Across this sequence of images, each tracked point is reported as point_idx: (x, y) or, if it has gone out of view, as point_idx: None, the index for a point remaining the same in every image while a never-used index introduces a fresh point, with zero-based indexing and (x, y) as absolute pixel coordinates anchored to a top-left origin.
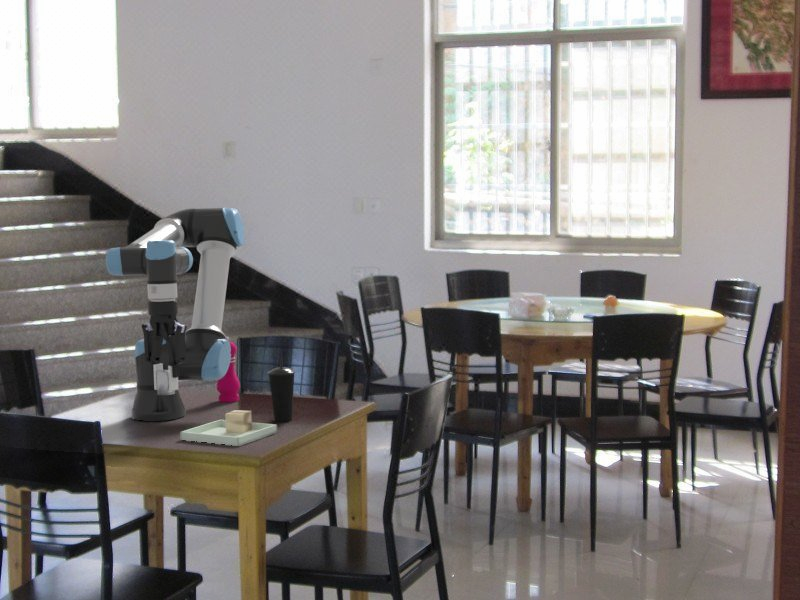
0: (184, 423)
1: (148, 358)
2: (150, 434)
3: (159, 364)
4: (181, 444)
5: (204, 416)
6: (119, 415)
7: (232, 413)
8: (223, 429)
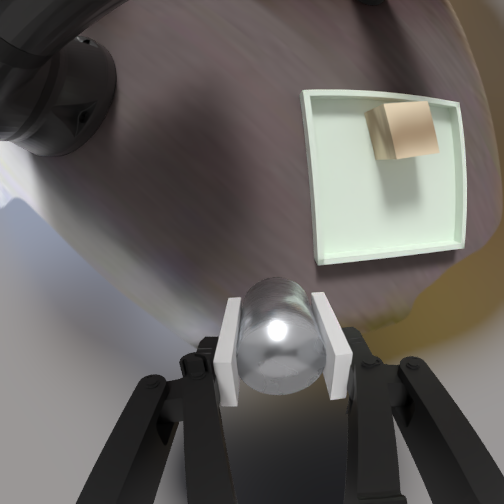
0: (168, 103)
1: (177, 425)
2: (192, 242)
3: (234, 382)
4: (343, 286)
5: (156, 28)
6: (5, 145)
7: (410, 148)
8: (345, 132)
